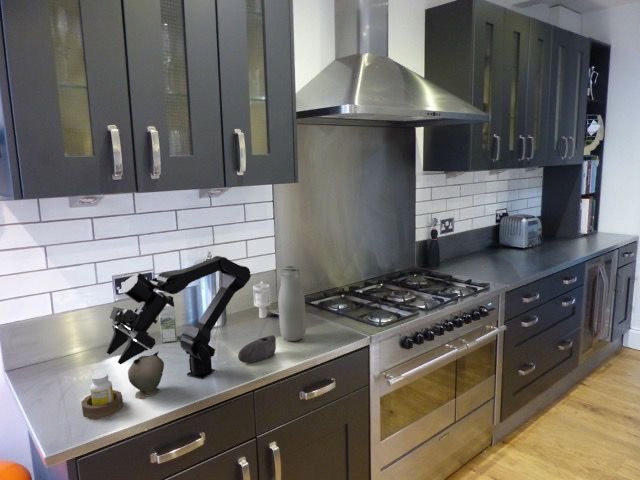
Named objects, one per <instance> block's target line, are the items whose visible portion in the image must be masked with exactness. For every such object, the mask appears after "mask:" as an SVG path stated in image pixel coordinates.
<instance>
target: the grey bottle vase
mask: <svg viewBox="0 0 640 480" xmlns="http://www.w3.org/2000/svg"><path fill="white" fill-rule="evenodd" d="M279 274H280V276H279V277H280V286H279V290H278V291H279V292H278V295H277V296H278V297H277V305H278V317H279V318H278V321H279V331H280V335H281V337H282V339H284V340H286V341H288V342H297V341H299V340H301V339H303V338H304V336H305V335H306V327H307V326H306V325H307V324H306V300H305V294H304V291H303V288H302V284H301V280H300V277H301V273H300V268H299V267H296V266H293V265H288V266H284V267H282V268H281V270H280V273H279Z"/></svg>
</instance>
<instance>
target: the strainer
mask: <svg viewBox="0 0 640 480" xmlns="http://www.w3.org/2000/svg"><path fill="white" fill-rule="evenodd" d="M252 291H253V292H252V294H253V307H256V308H258V317H259V319H266V318H267V307H269V306H271V304H272V303H271V287H270V284H268V283H264V281H260V282H259V283H257V284H254V285H253V286H252Z"/></svg>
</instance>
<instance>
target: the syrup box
mask: <svg viewBox="0 0 640 480" xmlns="http://www.w3.org/2000/svg"><path fill="white" fill-rule="evenodd" d="M173 302H174V303H175V301H174V300H173ZM175 306H176V305H174V307H172V306H170V305H168V304H167V305H166V306H165V307H164V309H163V310H162V311H161V313H160V314H159V316H158V317H159V327H160V338H161V343H162V344H163V343H171V342H178V334H177V323H176V321H177V320H176V308H175Z"/></svg>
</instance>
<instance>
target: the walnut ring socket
mask: <svg viewBox="0 0 640 480" xmlns="http://www.w3.org/2000/svg"><path fill="white" fill-rule="evenodd" d="M113 397H114V401H112V402H110V403H108V404H105V405H101V406H93V405H92V397H91V394H89V395H88V396H85V397H84V399H83V400H81V409H82V415H83V417H84V418H87V419H89V420H96V419H103V418H107V417H111V416H113V415H115V414H117V413H119V412H120V411H121V410H122V408H123V407H124V399H123V395H122V392H121V391H119V390H115V389H113Z"/></svg>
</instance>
